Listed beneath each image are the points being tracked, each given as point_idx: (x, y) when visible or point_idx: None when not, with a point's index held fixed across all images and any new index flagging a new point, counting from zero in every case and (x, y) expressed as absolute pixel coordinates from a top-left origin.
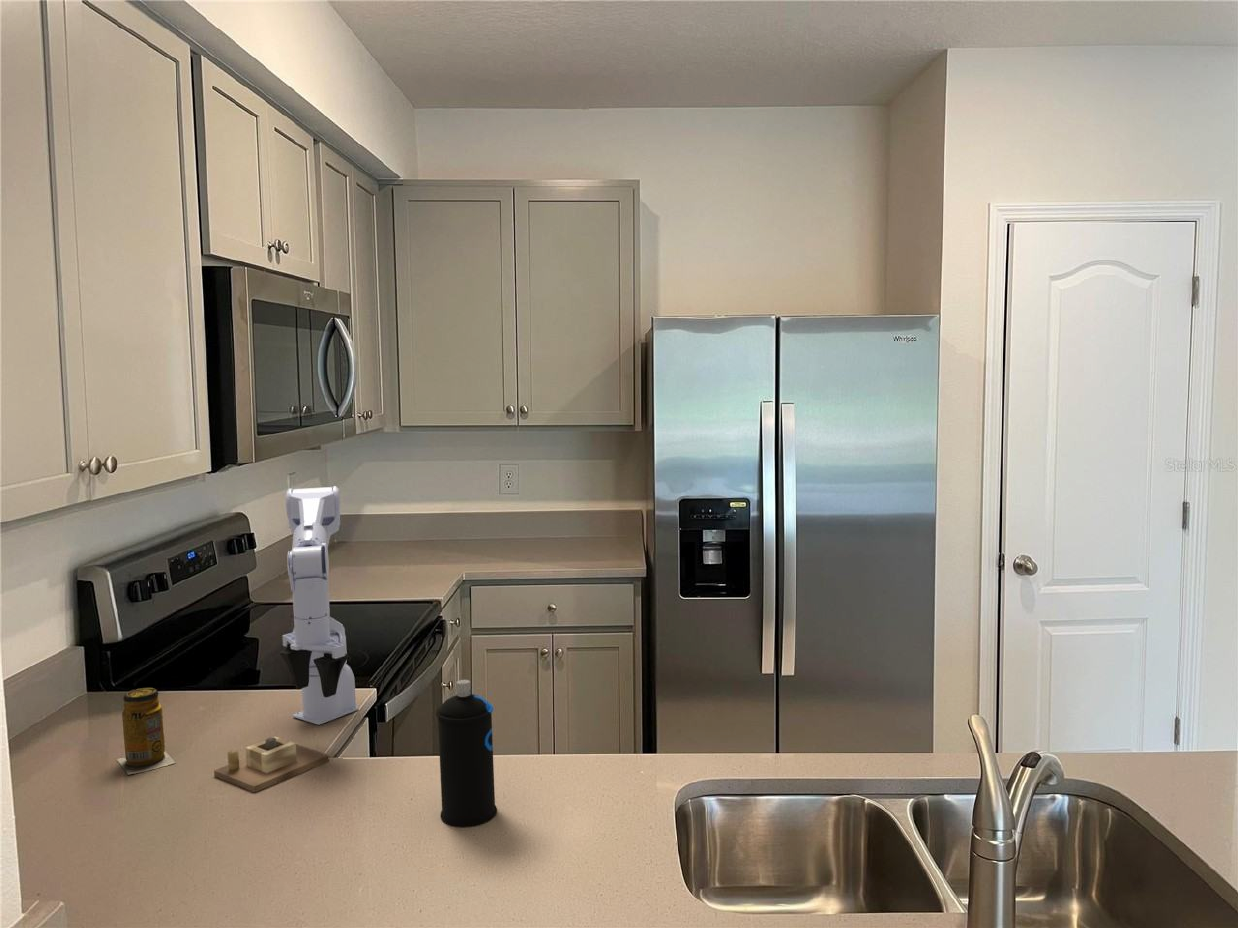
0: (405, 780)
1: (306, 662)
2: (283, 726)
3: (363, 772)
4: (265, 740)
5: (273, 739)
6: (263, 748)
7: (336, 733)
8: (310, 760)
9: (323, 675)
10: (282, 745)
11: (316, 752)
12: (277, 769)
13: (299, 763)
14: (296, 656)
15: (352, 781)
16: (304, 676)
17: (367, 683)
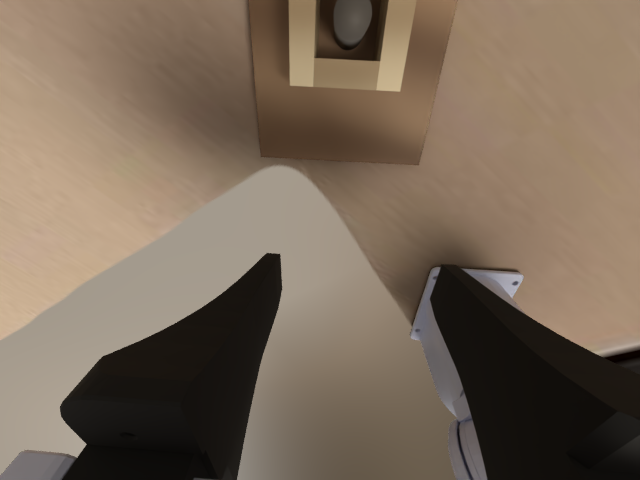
0: (55, 165)
1: (475, 393)
2: (511, 234)
3: (149, 149)
4: (405, 42)
5: (341, 20)
6: (384, 13)
7: (368, 256)
8: (268, 109)
9: (203, 310)
10: (313, 45)
11: (297, 152)
12: None
13: (275, 77)
14: (536, 418)
15: (118, 100)
16: (450, 322)
17: None
